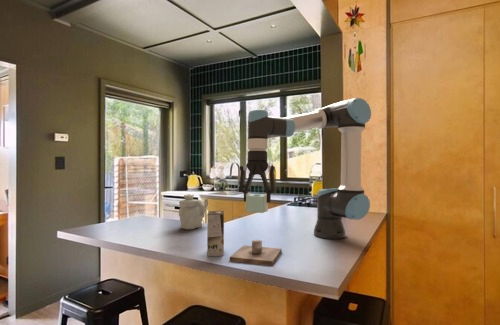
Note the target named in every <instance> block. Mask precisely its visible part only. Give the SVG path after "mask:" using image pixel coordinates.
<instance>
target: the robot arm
mask: <svg viewBox="0 0 500 325" xmlns="http://www.w3.org/2000/svg"><path fill="white" fill-rule="evenodd" d="M371 118H372V110H371V107H370V105H369V103H368V102H367V100H365V99H364V98H361V97H355V98H349V99H347V100H341V101H339V102H334V103H332V104H329V105H327V106H324V107H321V108H316V109H315V110H314V111H312V112H311V111H310V112H307V113H305V112H304V113H302V114H295V115H290V116H285V117H278V116H270V115H269V113H268V110H266V109H259V108H257V109H256V108H255V109H251V110H249V111H248V116H247V150H248V151H247V163H246V164H245V165H240V166H239V170H240V176H239V177H240V178H239V185H238V186H239V188H238V191H239V192H241V193H243V201H244V202H245V203H246V196H248V195H251V193H250V192H249V191H250V188H251V185H252V182H253V180H254V179H253V178H254V177H255V175H258V176H259V175H260V177H261V181H262V183H263V186H264V190H265V193H264V194H263V195H264V213H266V212H268V211H269V204H270V203H271V201H272V200H271V196H272V193H276V191H277V189H276V179H275V172H276V171H275V170H276V166H275V165H269V163H268V151H267V150H268V139H272V138H280V137H282V138H288V137H289V138H290V137H292V136H293V135H294V133H297V132H301V131H306V130H311V129H316V128H318V129H325V128H337V130H338V131H339V132H340V133H341V134H340V135H341V139H340V140H341V141H340V142H341V146H340V147H341V148H340V149H341V152H340V154H341V155H340V160H341V161H340V185H339V186H338V188H323V189H318V191H317V196H316V204H317V205H316V208H317V217H316V218H317V219H316V223H315V225H314V228H313V236H314V237H317V238H321V239H329V240H330V239H331V240H337V239H338V240H339V239H344V238H346V233H347V232H346V230H345V229H346V228H345V226H344V223H343V218H344V219H349V220H351V221H352V220H355V221H360V220H362V219H364V218H365V217H366V216H367V215H368V213H369V211H370V208H371V201H370V198H369V196H367V195H366V194H365V188H364V187H362V185H361V184H362V175H361V174H362V132H363V131H365V129H366V124H367V123H368V122H369V121H370V120H371ZM247 170H248V172H249V173H248V177H247V180H246V175H247V174H246V172H247ZM267 170H268V172H269V181H270V182H268V179H267V175H266V171H267ZM269 183H270V184H269Z"/></svg>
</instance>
